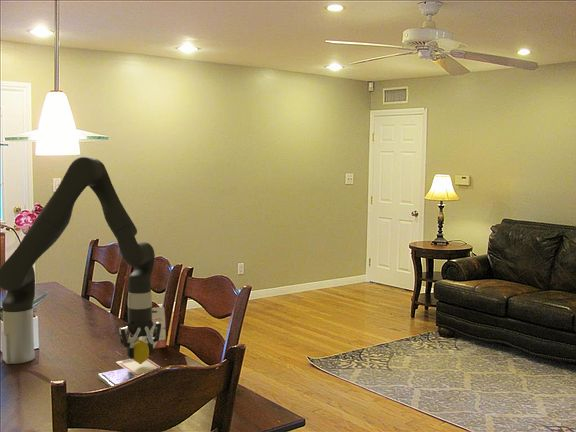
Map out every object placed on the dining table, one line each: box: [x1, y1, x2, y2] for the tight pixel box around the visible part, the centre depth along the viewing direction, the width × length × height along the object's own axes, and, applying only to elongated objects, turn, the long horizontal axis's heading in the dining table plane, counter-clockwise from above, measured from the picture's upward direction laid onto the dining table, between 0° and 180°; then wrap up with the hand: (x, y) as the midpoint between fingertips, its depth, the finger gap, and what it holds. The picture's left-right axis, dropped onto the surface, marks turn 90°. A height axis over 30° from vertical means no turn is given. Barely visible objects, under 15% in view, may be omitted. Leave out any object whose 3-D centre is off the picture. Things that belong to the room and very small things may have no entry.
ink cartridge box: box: [138, 306, 167, 350], centre depth 224 cm, size 9×5×15 cm, turn 118°
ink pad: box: [98, 368, 136, 388], centre depth 191 cm, size 9×13×2 cm
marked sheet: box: [115, 358, 161, 376], centre depth 203 cm, size 10×18×1 cm, turn 36°
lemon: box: [133, 339, 150, 364], centre depth 203 cm, size 6×6×8 cm
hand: (140, 356), depth 203 cm, fingers closed on lemon, 5 cm apart
